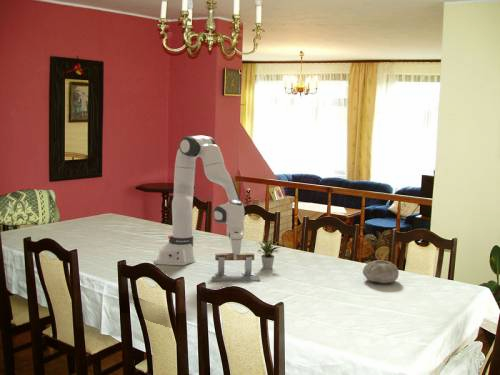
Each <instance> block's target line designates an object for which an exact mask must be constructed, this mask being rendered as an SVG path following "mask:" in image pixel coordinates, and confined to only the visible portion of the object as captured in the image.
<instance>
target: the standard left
mask: <svg viewBox="0 0 500 375" xmlns="http://www.w3.org/2000/svg"><path fill="white" fill-rule="evenodd" d="M225 261H226V260H225V257H219V260H217V271H215V275H216V276H227V273H226V271H225Z"/></svg>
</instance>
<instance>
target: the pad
mask: <svg viewBox="0 0 500 375" xmlns="http://www.w3.org/2000/svg"><path fill="white" fill-rule="evenodd" d="M211 281H212V283H213V282H214V283H215V282H224V283H225V282H260V281H261V278H260V275H254V276H244V275H226V276H215V275H213V276H211Z"/></svg>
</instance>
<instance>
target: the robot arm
mask: <svg viewBox="0 0 500 375" xmlns="http://www.w3.org/2000/svg"><path fill="white" fill-rule="evenodd" d="M198 157H199V158H201V160H202V166H203V171H204V175H205V177H206V179H208V180H209V181H210V182H211V183H215V184H217V185H219V186H221V187H222V188H223V189H224V190H225V192H226V196H227V199H228V201H227V202H226V203H223V204H219V205H216V206H215V207H214V208H213V212H212V218H213V220H214V221H215V222H216V223H218V224H226V236H227V237H228V239H229V240H230V241H229V242H230V243H229V244H230V249H231V253H233V259H234V260H233V261H238V260H237V254H240V253H241V251H242V250H241V249H242V242H243V241H242V240H243V238H244V234H245V225H244V220H245V214H246V210H245V209H246V208H245V207H244V203H243V202H242V200H241V199H240V196H239V192H238V189H237V187H236V183H235V181H234V179H233V176H232V174H230V173H229V171H228V170H227V168H226V165H225V160H224V157H223V154H222V151H221V148H220V147H219V145H217V142H216V141H215V139H214V138H213V137H211V136H209V135H200V134H196V135H187V136H184V137H183V138H182V139H180V140H179V148H178V149H177V152H176V156H175V162H174V175H173V177H174V178H173V197H172V200H171V216H172V219H171V220H172V235H171V234H169V235H168V243H166V244H165V245H164V246H162V247H161V248H160V249H159V252H158V255H157V256H156V257H154V264H156V265H165V266H166V265H168V266H169V265H170V266H186V265H189V264H193V263H195V262H196V258H195V252H194V239H195V238H194V235H193V234H194V233H193V232H194V231H193V227H194V226H193V225H194V223H193V220H194V219H193V203H194V202H193V201H194V190H195V179H196V178H195V175H196V160H197V158H198Z"/></svg>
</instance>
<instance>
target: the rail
mask: <svg viewBox="0 0 500 375" xmlns="http://www.w3.org/2000/svg"><path fill="white" fill-rule="evenodd" d="M214 255H215V256H214V257H215V258H214V259H215V260H214V261H218V260H219V257H225V261H235V260H234V259H233V252H231V253H230V252H224V253H223V252H222V253H220V252H217V253H216V252H215V254H214ZM246 257H252V261H255V253H254V252H240V254H237V260H236V261H245V260H246Z"/></svg>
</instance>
